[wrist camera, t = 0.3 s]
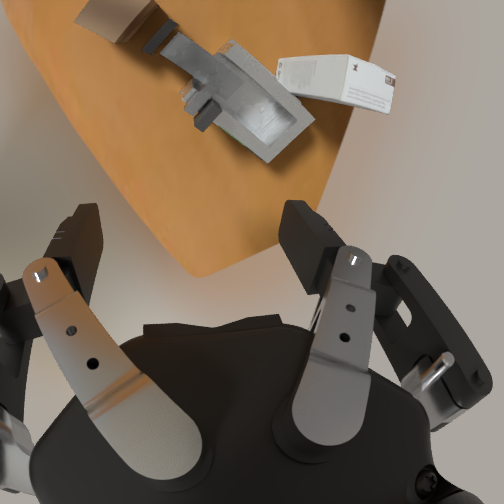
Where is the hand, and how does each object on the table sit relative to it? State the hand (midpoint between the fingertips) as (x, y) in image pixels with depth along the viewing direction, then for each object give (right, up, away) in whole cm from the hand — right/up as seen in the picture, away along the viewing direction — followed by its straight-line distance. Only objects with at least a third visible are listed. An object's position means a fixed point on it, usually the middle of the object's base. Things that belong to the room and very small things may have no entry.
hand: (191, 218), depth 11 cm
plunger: (-4, +17, +11) cm, 20 cm away
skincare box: (+8, +19, +16) cm, 26 cm away
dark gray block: (-1, +11, +11) cm, 15 cm away
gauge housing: (+1, +16, +15) cm, 22 cm away
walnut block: (-10, +22, +6) cm, 25 cm away
